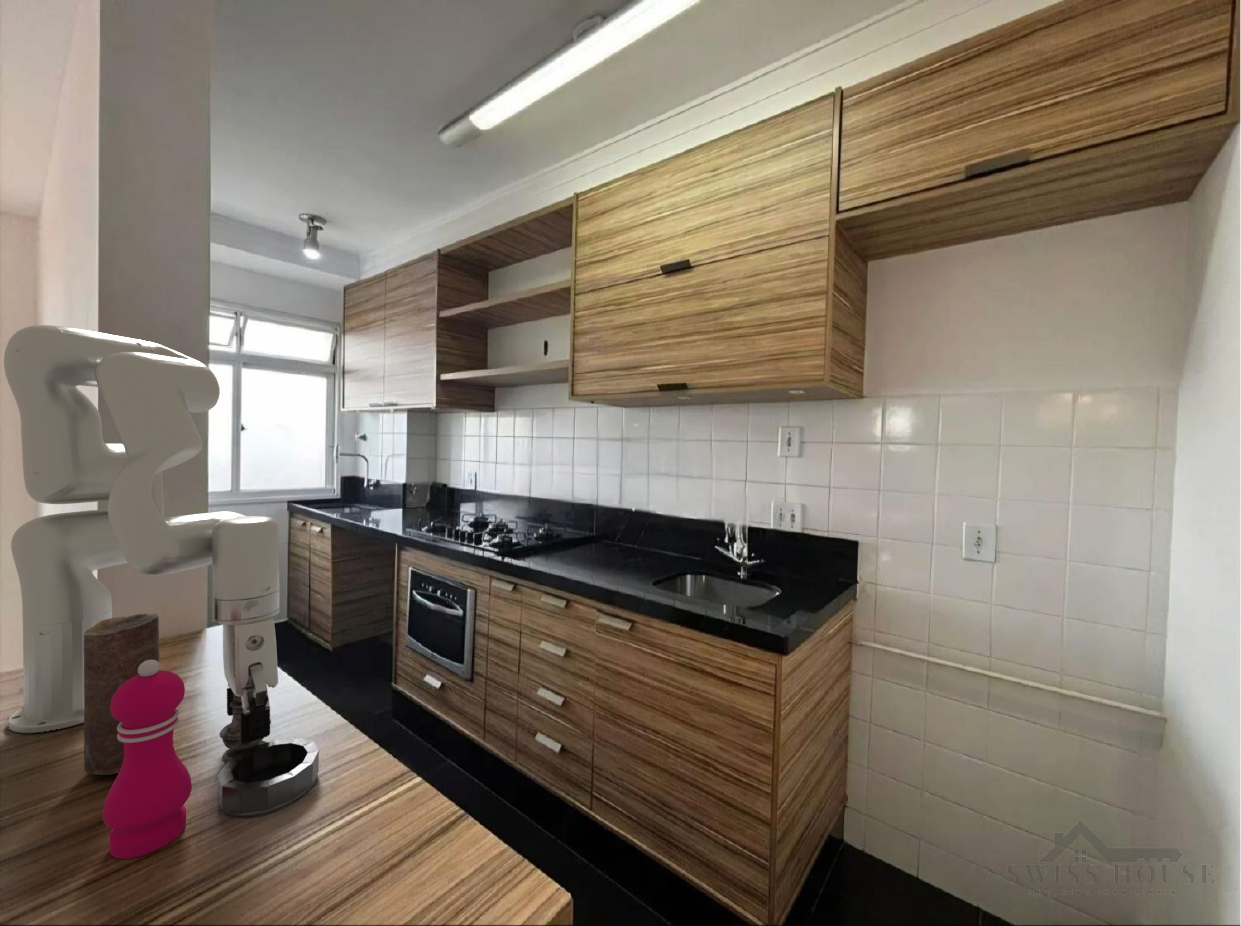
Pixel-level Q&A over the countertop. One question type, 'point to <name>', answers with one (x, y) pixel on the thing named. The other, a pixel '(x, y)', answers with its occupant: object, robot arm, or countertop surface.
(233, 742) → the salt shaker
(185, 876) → the countertop surface
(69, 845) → the countertop surface
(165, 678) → the pepper mill
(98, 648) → the candle
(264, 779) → the dark gray faceted bowl
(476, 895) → the countertop surface
